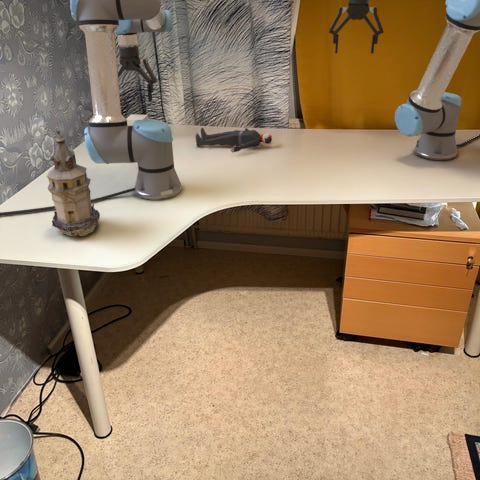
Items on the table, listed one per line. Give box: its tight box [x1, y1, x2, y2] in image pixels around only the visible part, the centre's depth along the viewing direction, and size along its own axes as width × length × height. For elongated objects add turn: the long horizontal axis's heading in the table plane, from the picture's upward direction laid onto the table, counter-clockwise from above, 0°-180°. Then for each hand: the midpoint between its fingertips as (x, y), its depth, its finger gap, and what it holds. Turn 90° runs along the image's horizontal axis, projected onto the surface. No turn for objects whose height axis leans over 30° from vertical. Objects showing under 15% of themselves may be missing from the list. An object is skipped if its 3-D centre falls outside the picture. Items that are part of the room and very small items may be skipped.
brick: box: [125, 113, 149, 126], centre depth 225 cm, size 7×8×9 cm
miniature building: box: [46, 129, 101, 237], centre depth 148 cm, size 13×14×30 cm
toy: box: [195, 127, 273, 154], centre depth 215 cm, size 26×6×30 cm
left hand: (134, 100), depth 219 cm, fingers open, 13 cm apart
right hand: (354, 52), depth 207 cm, fingers open, 13 cm apart
